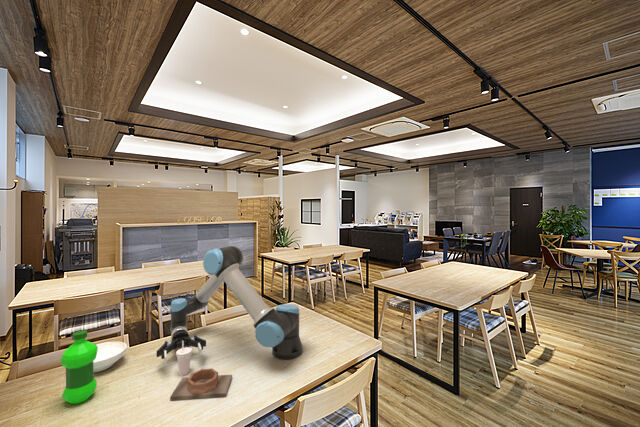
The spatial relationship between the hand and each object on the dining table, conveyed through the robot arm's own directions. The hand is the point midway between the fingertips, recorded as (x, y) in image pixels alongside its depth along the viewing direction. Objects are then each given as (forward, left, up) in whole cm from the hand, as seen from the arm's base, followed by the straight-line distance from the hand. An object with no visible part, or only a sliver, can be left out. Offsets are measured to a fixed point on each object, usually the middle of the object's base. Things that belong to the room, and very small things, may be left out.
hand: (183, 356), depth 120 cm
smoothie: (0, -1, -8) cm, 8 cm away
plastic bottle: (+28, +20, -8) cm, 36 cm away
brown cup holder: (-14, +8, -8) cm, 18 cm away
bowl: (+40, 0, -8) cm, 41 cm away
